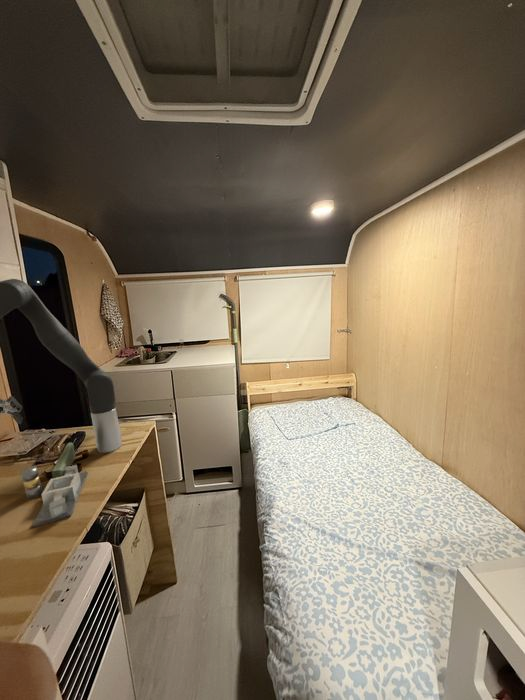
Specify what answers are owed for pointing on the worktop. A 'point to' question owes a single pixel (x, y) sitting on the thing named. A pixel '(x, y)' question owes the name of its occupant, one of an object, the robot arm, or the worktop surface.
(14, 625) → the worktop surface
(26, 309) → the robot arm
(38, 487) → the grey cylinder with band
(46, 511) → the base
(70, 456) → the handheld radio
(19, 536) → the worktop surface
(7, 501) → the worktop surface
